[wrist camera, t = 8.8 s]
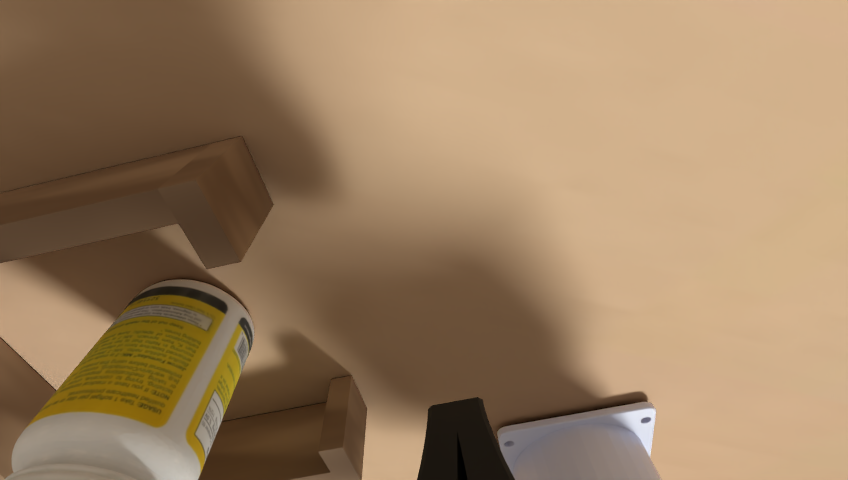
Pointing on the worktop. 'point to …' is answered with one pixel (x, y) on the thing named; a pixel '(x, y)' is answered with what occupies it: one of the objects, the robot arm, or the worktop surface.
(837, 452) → the worktop surface
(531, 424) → the robot arm
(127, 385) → the supplement bottle
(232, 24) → the worktop surface
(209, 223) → the walled box
